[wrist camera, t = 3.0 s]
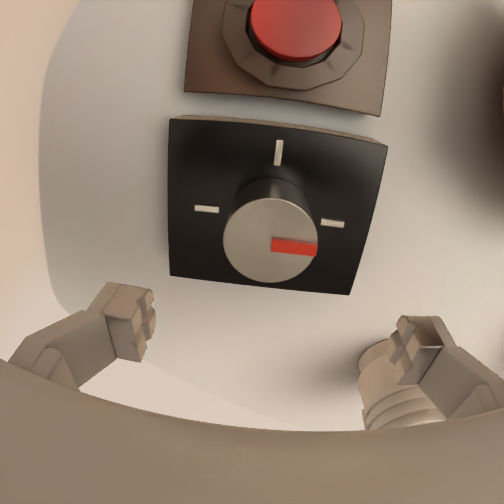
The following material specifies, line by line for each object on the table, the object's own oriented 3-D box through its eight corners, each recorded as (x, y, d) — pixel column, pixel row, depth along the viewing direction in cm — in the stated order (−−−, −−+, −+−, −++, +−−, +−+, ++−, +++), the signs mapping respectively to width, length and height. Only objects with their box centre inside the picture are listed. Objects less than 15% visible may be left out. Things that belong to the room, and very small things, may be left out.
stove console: (180, 254, 22) (168, 277, 20) (183, 114, 18) (167, 118, 15) (341, 271, 22) (350, 297, 20) (372, 138, 18) (389, 146, 15)
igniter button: (248, 57, 13) (246, 52, 11) (256, -11, 11) (255, -23, 9) (330, 68, 13) (337, 65, 11) (337, 0, 11) (344, -10, 9)
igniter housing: (192, 92, 17) (173, 91, 13) (205, -20, 13) (191, -43, 9) (368, 114, 17) (392, 120, 13) (380, 4, 13) (404, -13, 9)
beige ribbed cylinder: (346, 348, 26) (374, 503, 13) (416, 325, 25) (473, 467, 12) (357, 387, 29) (379, 515, 16) (417, 367, 28) (456, 489, 14)
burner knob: (229, 245, 18) (219, 281, 15) (234, 173, 16) (224, 194, 13) (302, 253, 18) (308, 290, 15) (315, 182, 16) (327, 207, 13)
